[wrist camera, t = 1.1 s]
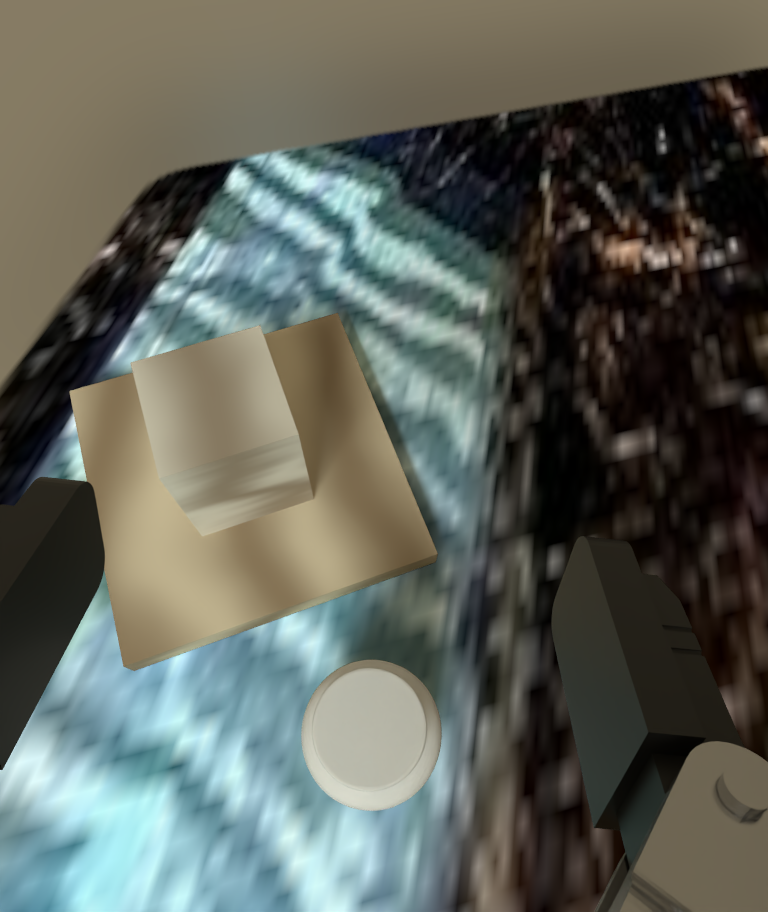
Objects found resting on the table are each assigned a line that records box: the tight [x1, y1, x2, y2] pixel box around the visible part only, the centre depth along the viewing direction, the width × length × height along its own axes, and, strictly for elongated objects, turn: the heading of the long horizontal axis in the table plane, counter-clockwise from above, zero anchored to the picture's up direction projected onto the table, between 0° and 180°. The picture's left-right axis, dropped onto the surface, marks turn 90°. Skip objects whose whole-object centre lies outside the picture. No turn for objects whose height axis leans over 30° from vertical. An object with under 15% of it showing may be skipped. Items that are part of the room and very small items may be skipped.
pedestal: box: [70, 313, 438, 671], centre depth 33 cm, size 16×16×9 cm
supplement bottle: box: [301, 660, 441, 811], centre depth 27 cm, size 5×5×10 cm
